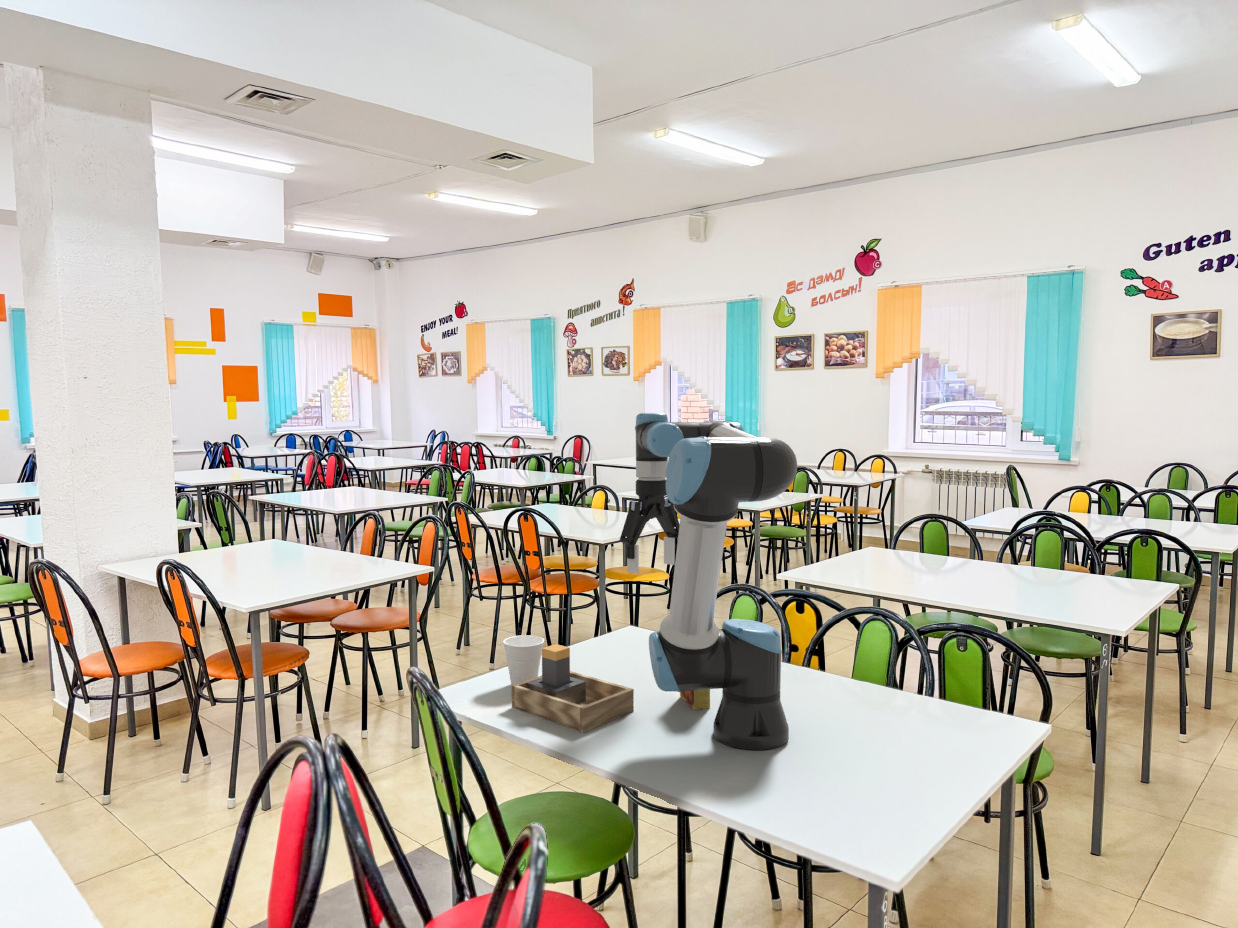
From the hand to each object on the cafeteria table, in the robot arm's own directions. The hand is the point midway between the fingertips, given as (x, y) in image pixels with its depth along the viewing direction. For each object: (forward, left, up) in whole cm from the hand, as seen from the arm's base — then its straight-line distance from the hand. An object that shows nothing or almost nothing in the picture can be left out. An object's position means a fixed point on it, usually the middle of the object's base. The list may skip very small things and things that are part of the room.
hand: (651, 568), depth 200 cm
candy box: (-14, +2, -29) cm, 32 cm away
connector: (+9, +23, -28) cm, 37 cm away
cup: (+24, +19, -29) cm, 42 cm away
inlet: (+9, +23, -29) cm, 38 cm away
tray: (+4, +23, -29) cm, 37 cm away
